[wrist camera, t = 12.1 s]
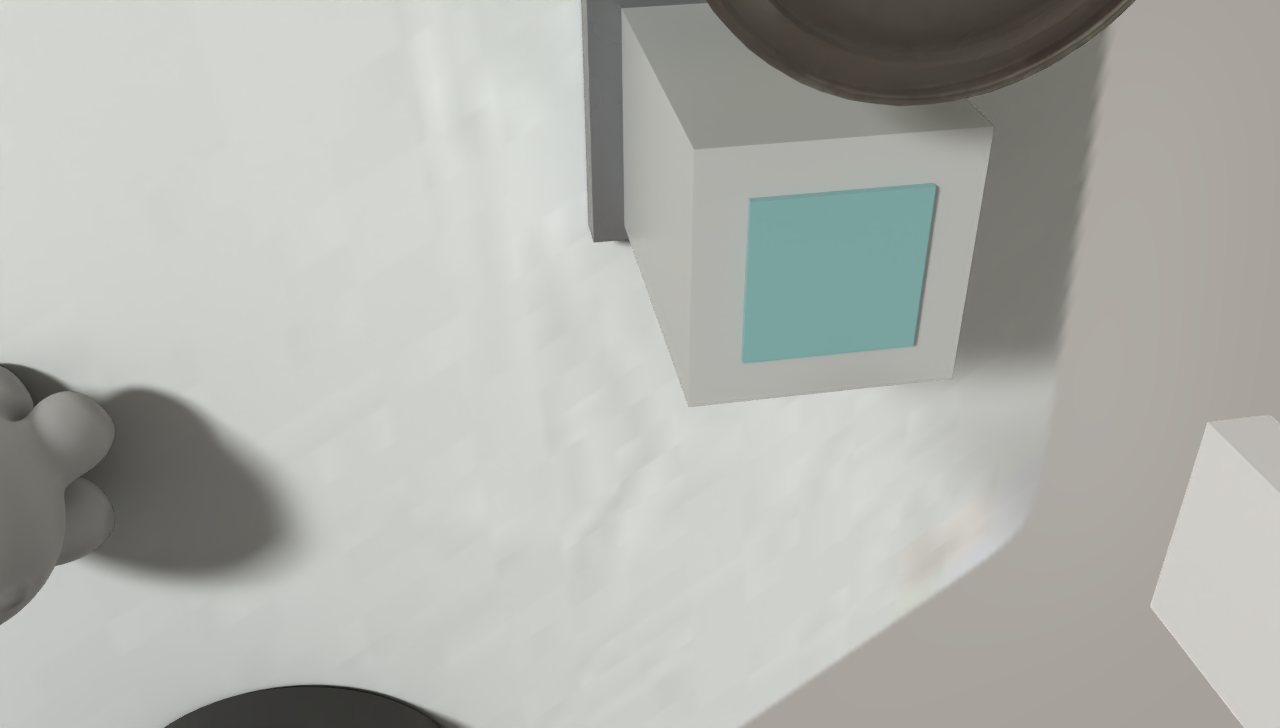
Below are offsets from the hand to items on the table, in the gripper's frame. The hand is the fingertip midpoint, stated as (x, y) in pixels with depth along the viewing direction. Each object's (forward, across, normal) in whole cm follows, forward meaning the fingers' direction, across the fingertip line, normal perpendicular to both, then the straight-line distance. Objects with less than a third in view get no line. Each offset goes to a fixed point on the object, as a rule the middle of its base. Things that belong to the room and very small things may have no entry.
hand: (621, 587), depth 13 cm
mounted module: (+25, -8, +5) cm, 27 cm away
